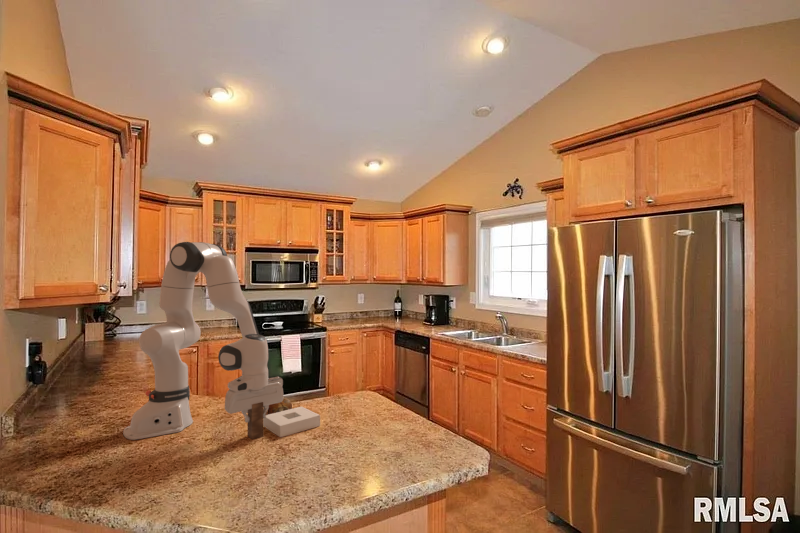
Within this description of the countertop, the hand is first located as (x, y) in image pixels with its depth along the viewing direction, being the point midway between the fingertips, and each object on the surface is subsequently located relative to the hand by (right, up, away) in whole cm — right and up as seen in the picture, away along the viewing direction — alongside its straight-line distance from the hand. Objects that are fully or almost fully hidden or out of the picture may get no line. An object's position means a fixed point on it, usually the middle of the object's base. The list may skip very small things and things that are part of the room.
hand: (255, 419), depth 149 cm
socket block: (+10, -6, +9) cm, 15 cm away
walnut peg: (0, -6, 0) cm, 6 cm away
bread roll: (+1, -6, +25) cm, 26 cm away
